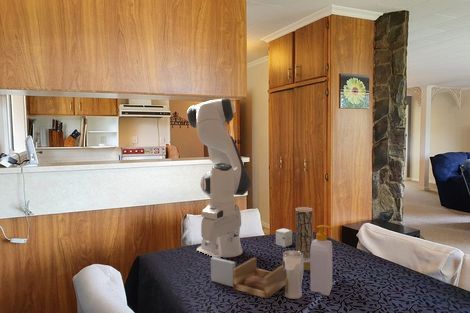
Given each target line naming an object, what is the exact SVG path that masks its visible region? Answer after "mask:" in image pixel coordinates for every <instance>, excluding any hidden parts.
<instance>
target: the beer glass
mask: <svg viewBox="0 0 470 313" xmlns="http://www.w3.org/2000/svg"><path fill="white" fill-rule="evenodd" d="M282 265H283V274H284V280H285V285H284V287H285V290H284V296H285V297H286V298H288V299H292V300H296V299H301V298H302V297H303V291H302V284H303V280H304V279H303V277H304V271H305V270H304V262H303V253H301V252H299V251H296V250H287V251H284V252H283V254H282Z"/></svg>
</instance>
